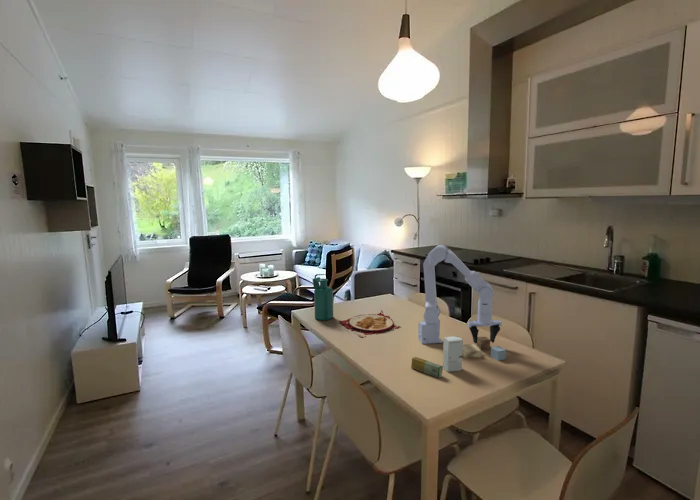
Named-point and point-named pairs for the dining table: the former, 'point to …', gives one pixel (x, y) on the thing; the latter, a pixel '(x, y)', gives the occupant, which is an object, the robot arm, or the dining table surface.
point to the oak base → (470, 351)
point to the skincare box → (452, 353)
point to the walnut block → (483, 342)
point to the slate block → (498, 353)
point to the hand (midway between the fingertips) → (483, 342)
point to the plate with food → (370, 323)
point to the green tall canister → (323, 299)
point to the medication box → (427, 367)
